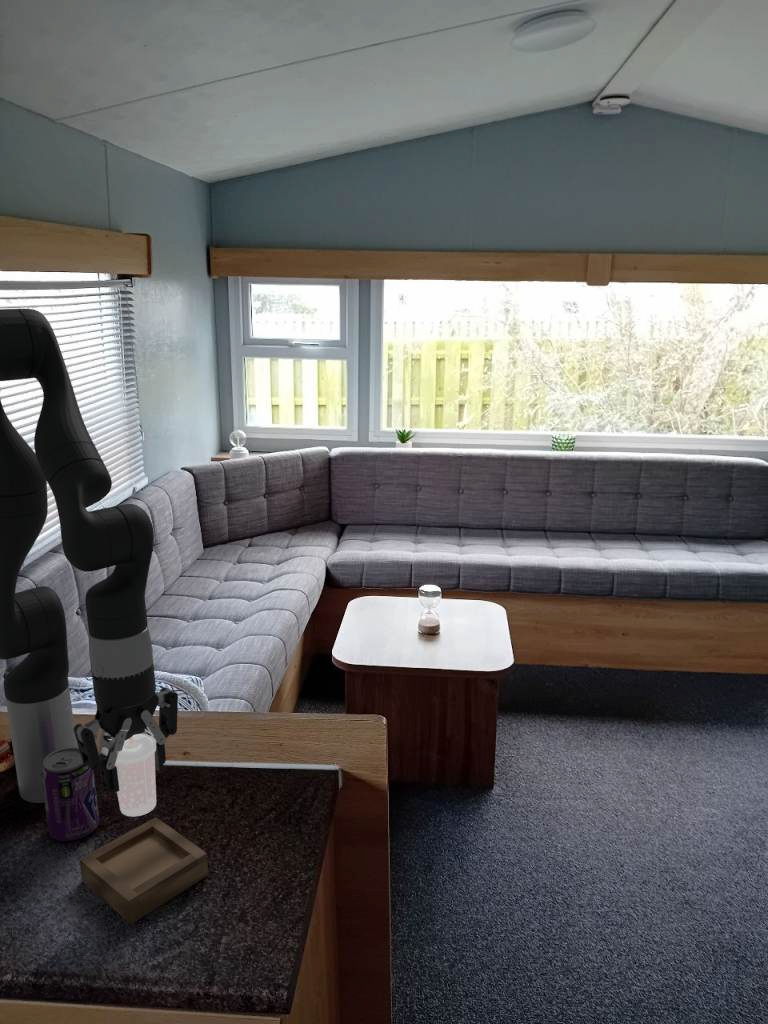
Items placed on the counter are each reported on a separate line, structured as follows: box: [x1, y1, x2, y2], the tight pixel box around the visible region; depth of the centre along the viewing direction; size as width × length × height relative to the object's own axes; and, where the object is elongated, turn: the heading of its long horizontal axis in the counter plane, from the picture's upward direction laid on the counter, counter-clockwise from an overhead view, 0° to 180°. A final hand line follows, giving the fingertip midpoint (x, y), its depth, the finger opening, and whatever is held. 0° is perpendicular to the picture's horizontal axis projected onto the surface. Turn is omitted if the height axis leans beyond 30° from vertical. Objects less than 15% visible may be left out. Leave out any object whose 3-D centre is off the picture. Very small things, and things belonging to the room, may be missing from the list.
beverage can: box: [41, 746, 100, 842], centre depth 124 cm, size 7×7×12 cm
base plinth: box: [78, 816, 209, 925], centre depth 115 cm, size 12×12×4 cm
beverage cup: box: [115, 733, 157, 818], centre depth 111 cm, size 6×6×14 cm
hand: (135, 778), depth 111 cm, fingers closed on beverage cup, 6 cm apart
